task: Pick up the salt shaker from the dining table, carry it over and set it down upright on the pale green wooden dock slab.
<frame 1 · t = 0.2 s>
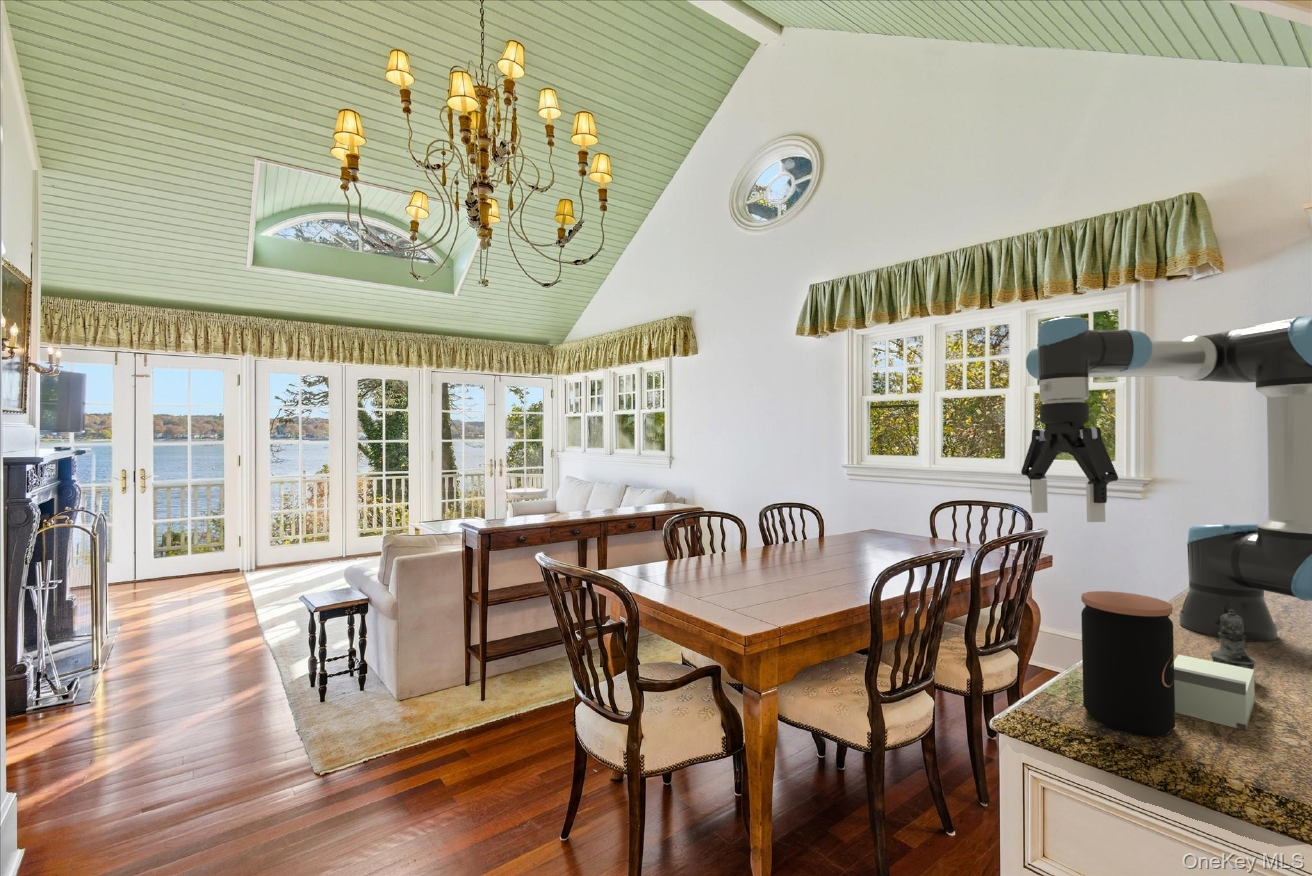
hand: (1066, 517, 108), 28 cm above the worktop, tool pointing down, fingers open, 13 cm apart
dock: (1209, 705, 91), on the worktop
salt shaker: (1233, 678, 102), on the worktop
coffee jar: (1127, 722, 87), on the worktop
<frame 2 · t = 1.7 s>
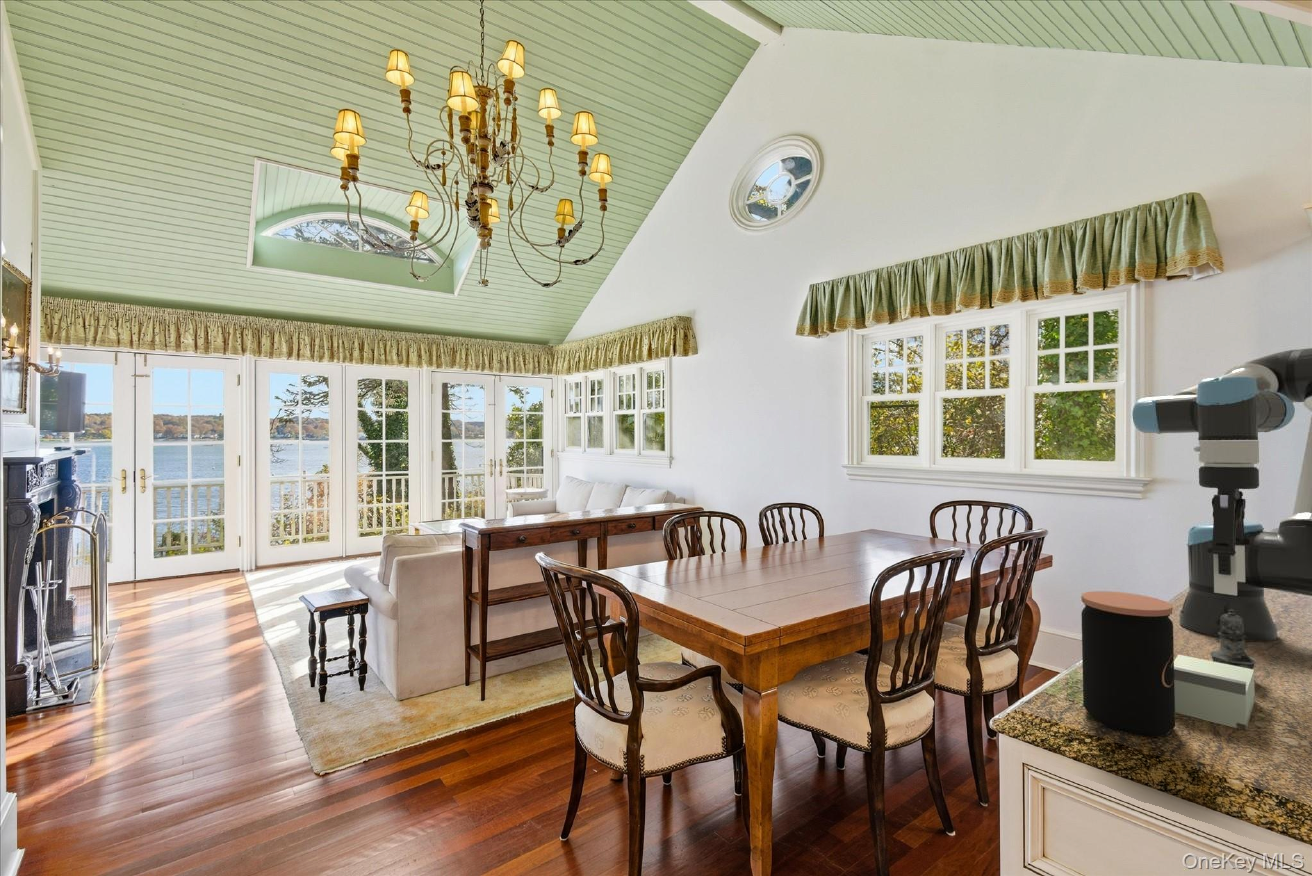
hand: (1230, 587, 102), 16 cm above the worktop, tool pointing down, fingers open, 13 cm apart
nothing on the worktop moved.
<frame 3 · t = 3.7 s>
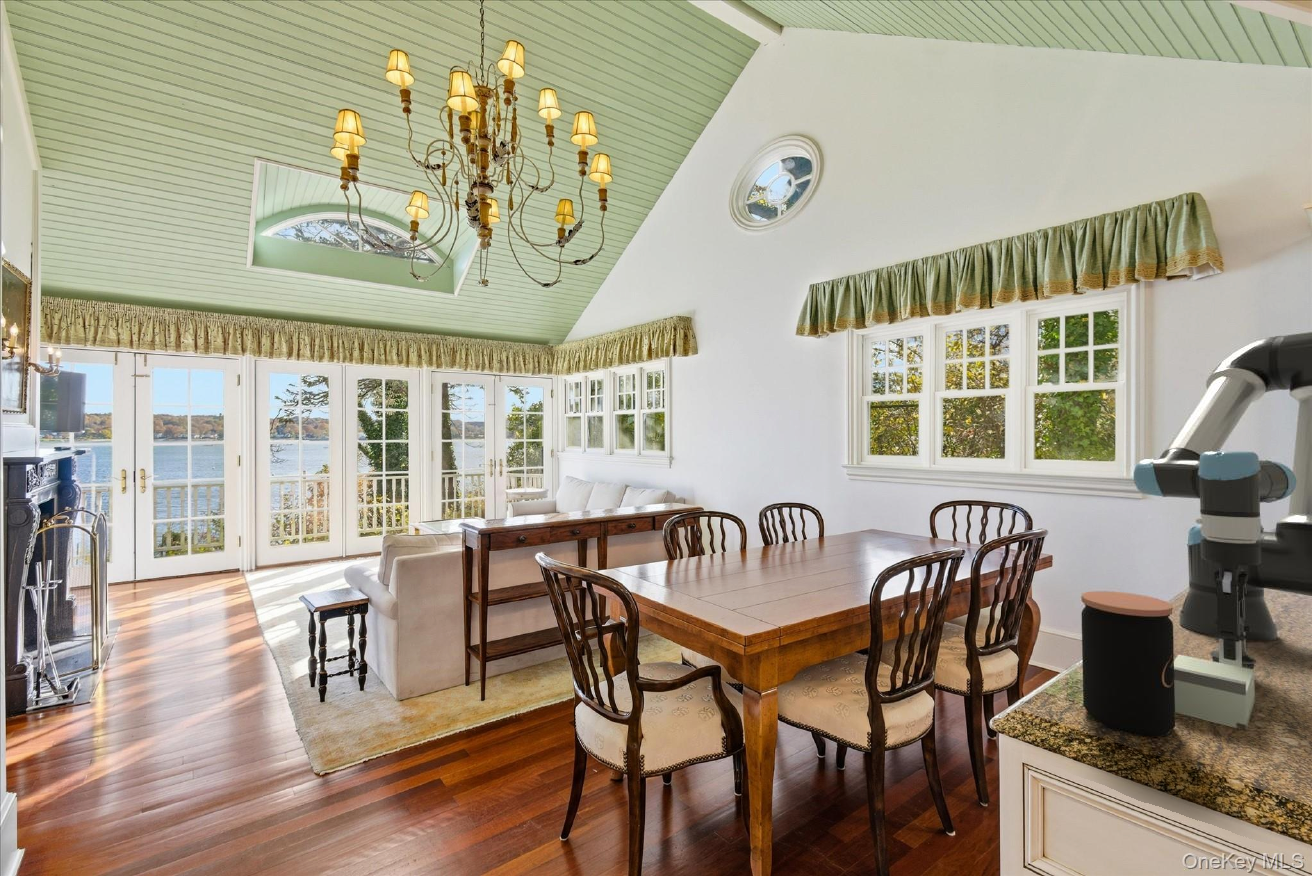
hand: (1232, 671, 102), 1 cm above the worktop, tool pointing down, fingers closed on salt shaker, 6 cm apart
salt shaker: (1233, 678, 102), on the worktop, touching gripper
everything else where it was.
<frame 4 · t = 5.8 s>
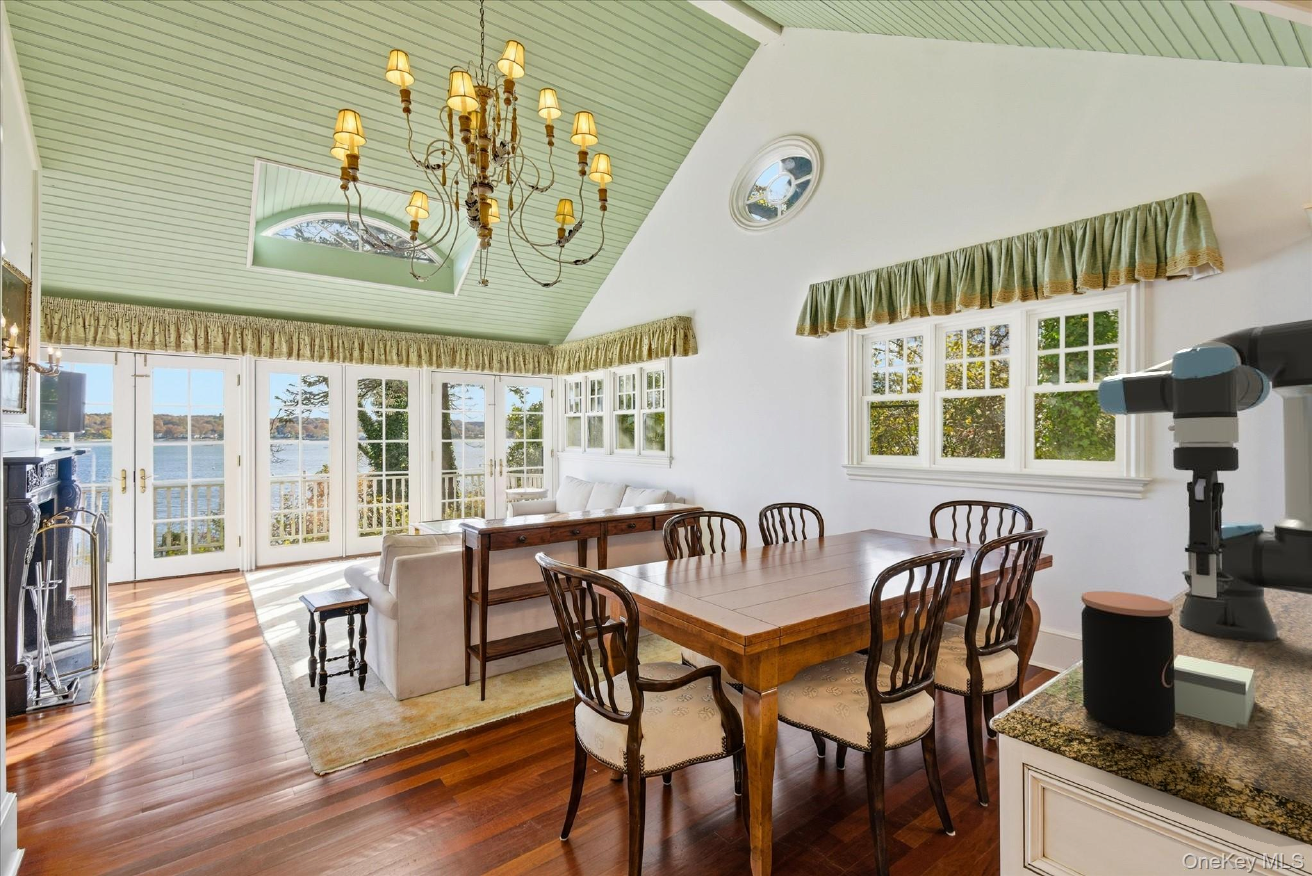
hand: (1207, 591, 92), 18 cm above the worktop, tool pointing down, fingers closed on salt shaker, 6 cm apart
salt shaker: (1207, 598, 92), point 16 cm above the worktop, touching gripper
everything else where it was.
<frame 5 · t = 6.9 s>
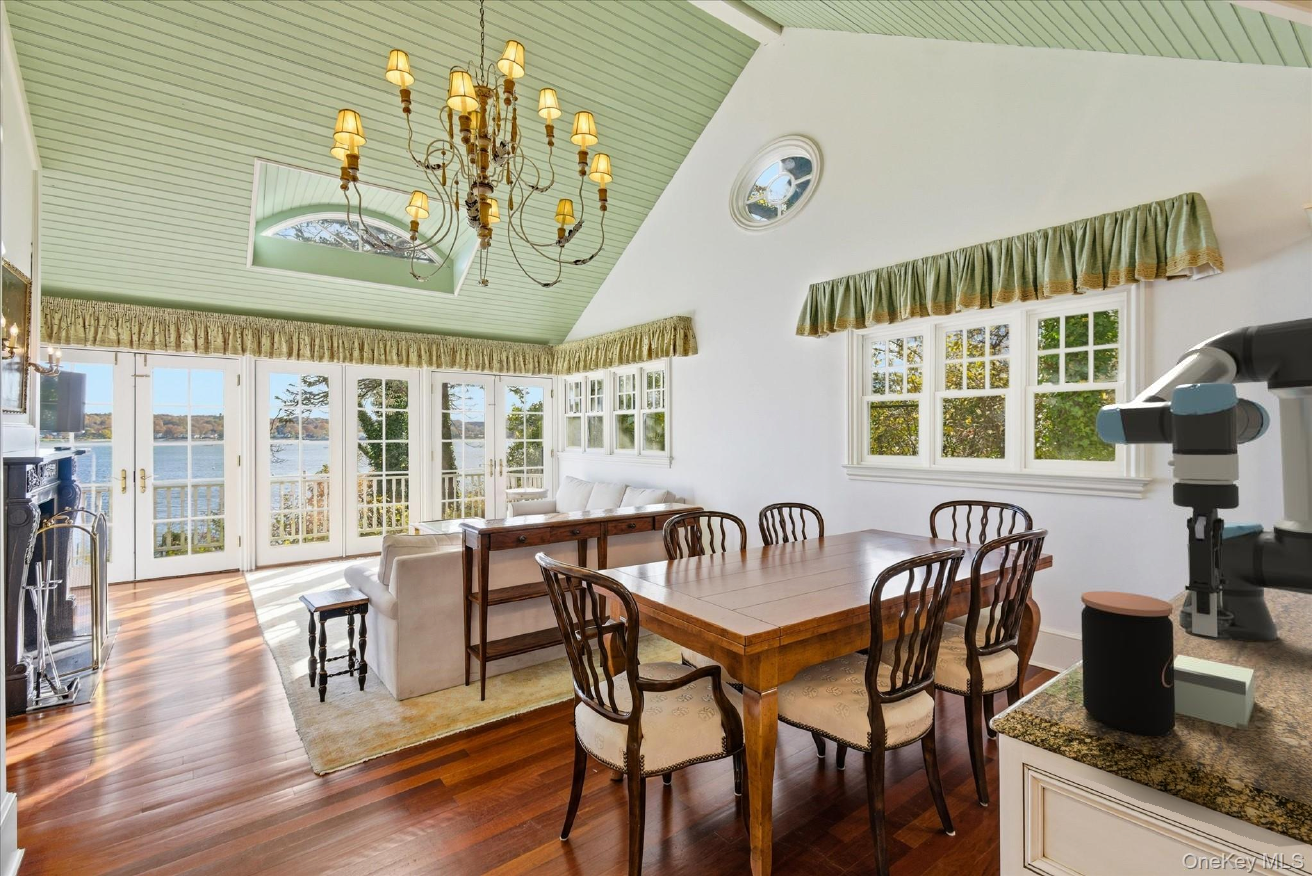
hand: (1207, 629, 91), 12 cm above the worktop, tool pointing down, fingers closed on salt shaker, 6 cm apart
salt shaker: (1207, 636, 91), point 11 cm above the worktop, touching gripper
everything else where it was.
when the fingers open (7 cm above the worktop, at t = 8.0 s): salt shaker drops 1 cm, resting on dock.
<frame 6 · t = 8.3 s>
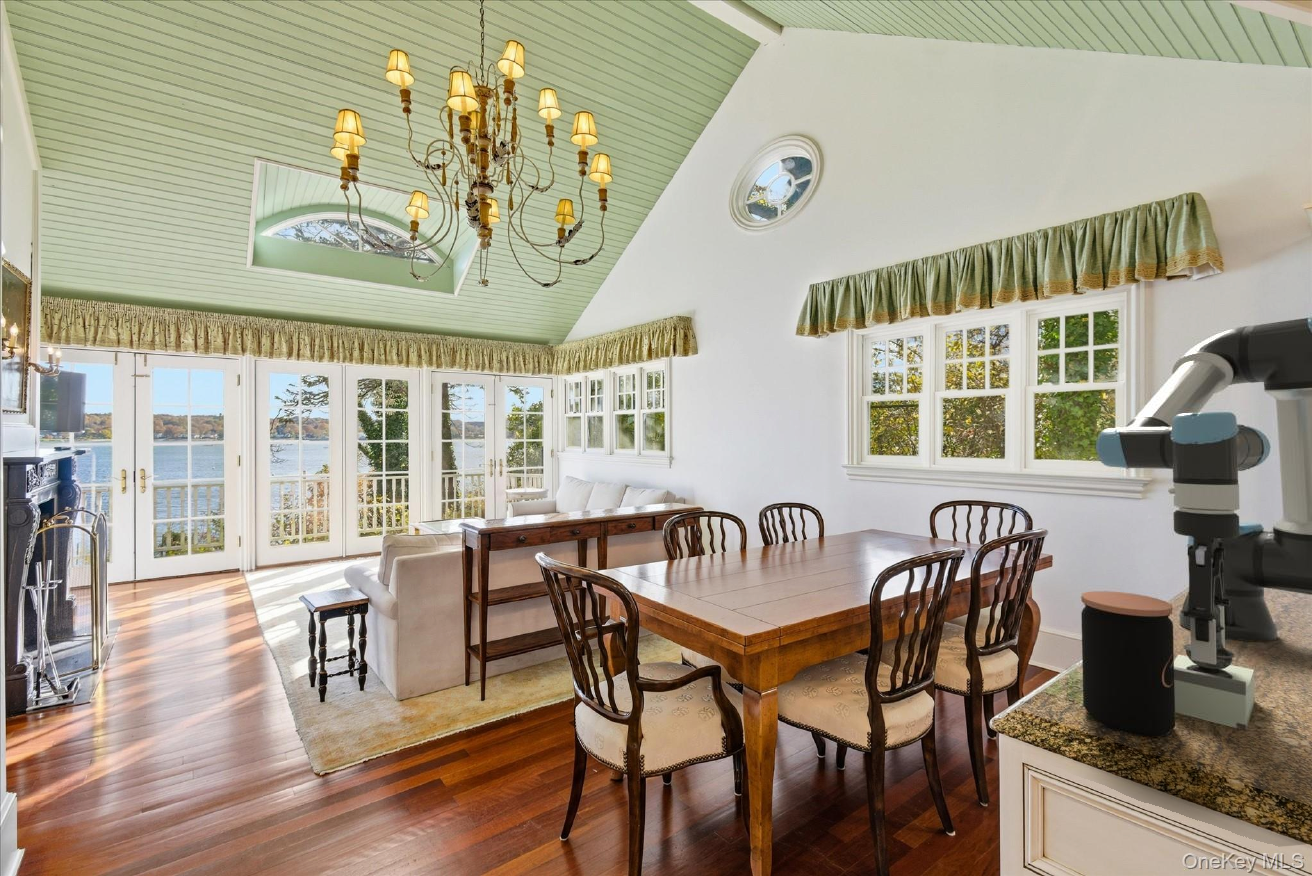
hand: (1208, 652, 91), 8 cm above the worktop, tool pointing down, fingers open, 10 cm apart
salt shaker: (1209, 674, 91), point 5 cm above the worktop, touching dock
everything else where it was.
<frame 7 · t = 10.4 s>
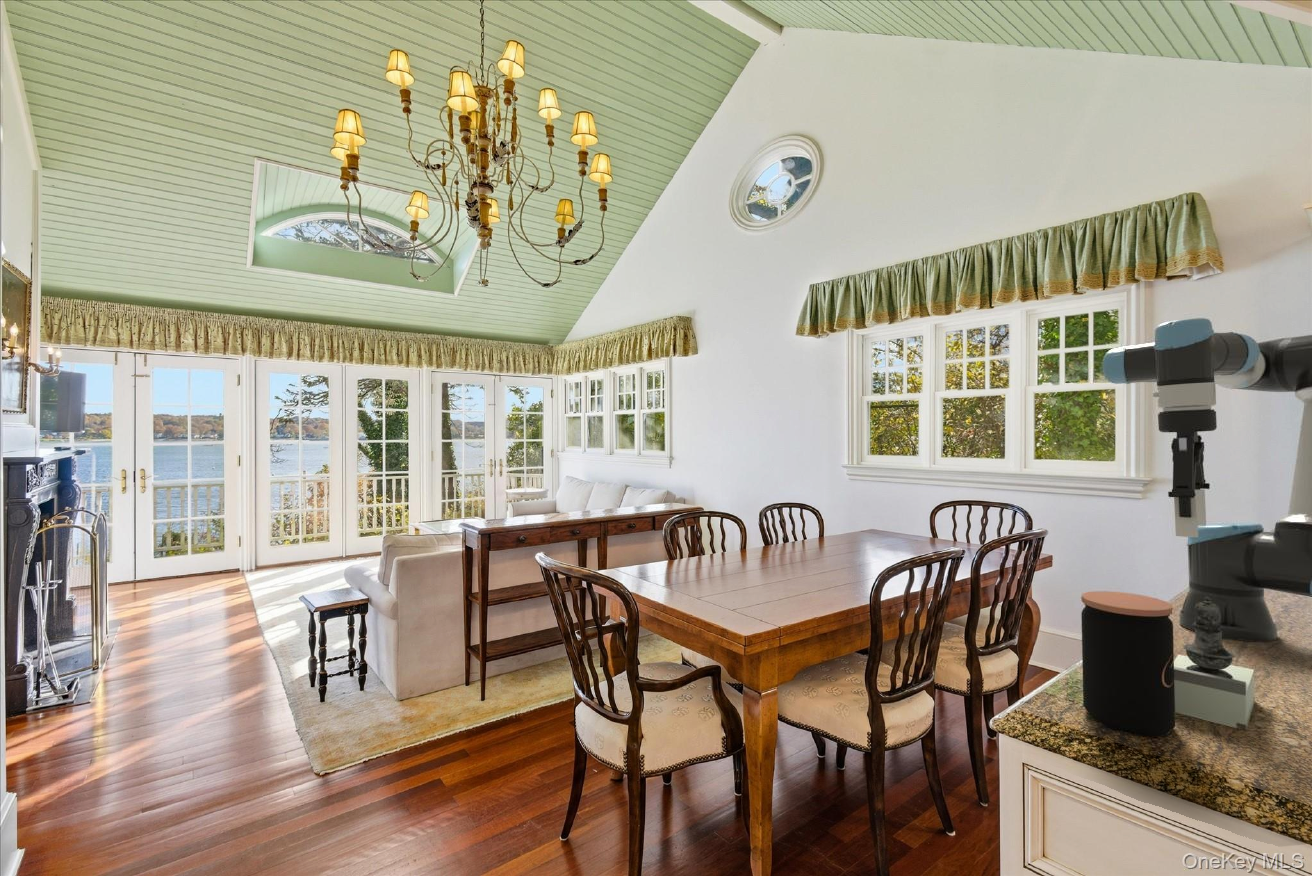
hand: (1191, 530, 102), 26 cm above the worktop, tool pointing down, fingers open, 13 cm apart
nothing on the worktop moved.
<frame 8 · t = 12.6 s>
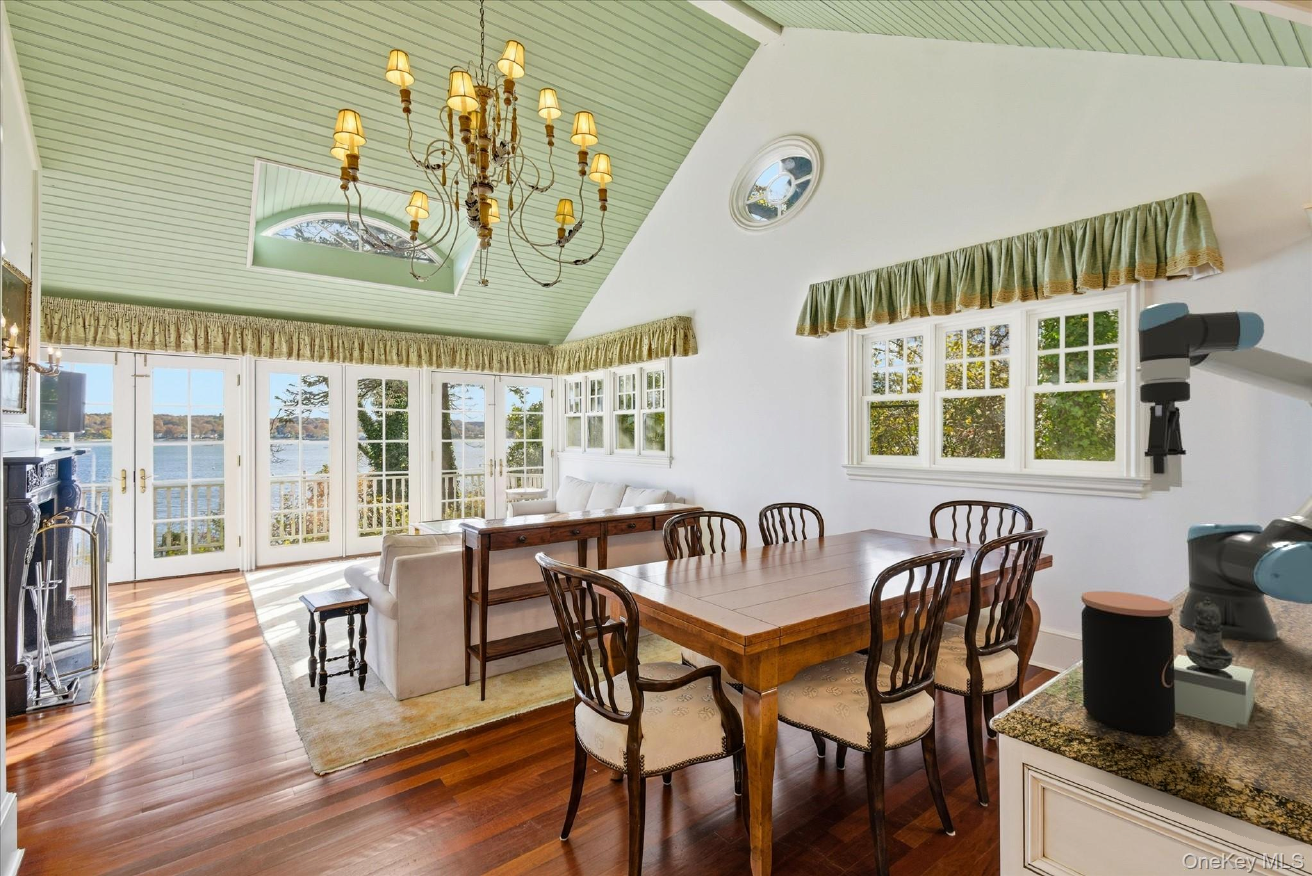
hand: (1166, 488, 116), 32 cm above the worktop, tool pointing down, fingers open, 13 cm apart
nothing on the worktop moved.
at the end: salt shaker inside the target area on the dock (0.0 cm from its centre), point 4.8 cm above the dock's base; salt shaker tilted 0°; the gripper is holding nothing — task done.
